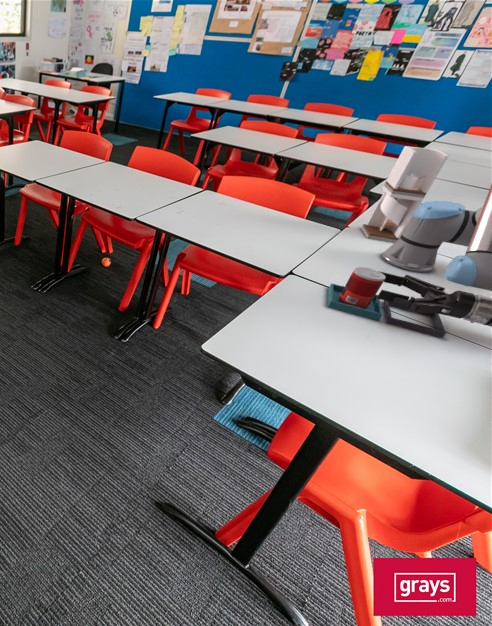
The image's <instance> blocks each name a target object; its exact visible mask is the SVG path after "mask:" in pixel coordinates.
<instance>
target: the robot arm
mask: <svg viewBox="0 0 492 626" xmlns="http://www.w3.org/2000/svg"><path fill="white" fill-rule="evenodd" d="M443 243H447V244H451V245H452V244H453V245H457V246H463V247H466V248H467V249H466V251H465V254H464V255H457V256H455V257H453V258H452V260H451V261H450V262H449V264H448V265H447V267H446V270H445V274H444V275H445V278H446V280H447V281H449V282H450V283H453V284H454V283H455V284H458V285H462V286H464V287H470V288H474V289H475V288H476V289H480V290H486V291H491V292H492V183H491V185H490V187H489V189H488V192H487V195H486V197H485V200H484V202H483V206H481V207H479V208H478V209H477V210H476V211H475V210H469V209H466V206H465V205H463V204H461V203H459V202H453V201H447V200H428V201H424V202H421V204H420V205H419V207H418V208H417V210H416V211H415V212H414V213H413V216H412V218H411V220H410V221H409V223H408V225H407V226H406V228H405V230H404V231H403V233H402V235H401V237H400V238H399V239H398V240H397V241H396V242H393V244H392V245H390V246H389V247H388V248H387V249H386V250H385V251H384V252H383V254H382V260H384V261H385V262H387V263H388V264H389V265H392V266H395V267H397V268H400V269H402V270H406V271H411V272H417V273H429V272H431V271H432V270H433V269H434V268H435V265H436V261H437V255H438V251H439V248H440V247H441V245H442V244H443ZM378 271H379V270H378ZM379 272H381V273H382V274H384V275H385V277H386V278H385V280H384V282H383V283H385V284H391V285H394V286H397V287H405V288H406V289H408V290H410V291H413V292H415V293H417V294H419V295H420V297H414V296H409V295H405V294H401V293H397V292H393V291H389V290H385V289H381V290H380V291H379V293H378V294H377V295H378V296H377V299H380V301H384V300H385V301H389V302H392V303H396V304H400V305H406V306H405V307H407V308H409V311H408V312H411V311H412V313H415V312H423V313H435V314H439V315H442V316H446V317H447V316H448V317H451V318H454V319H455V318H456V319H462V320H464V321H467V322H469V323H470V324H479V325H483V326H487V327H491V328H492V297H489V296H485V295H481V294H474V293H471V292H467V291H464V290H460V289H459V290H454V291H453V292H452V293H447V292H445V290H446V288H445V287H444V286H439V285H436V284H433V283H432V282H431V283H430V282H427V281H425V280H422V279H420V278H417V277H414V276H412V275H409V274H405V275H404V276H402V275H401V276H400V275H396V274H393V273H388V272H385V271H379Z"/></svg>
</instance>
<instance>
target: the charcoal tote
mask: <svg viewBox="0 0 492 626" xmlns="http://www.w3.org/2000/svg"><path fill="white" fill-rule="evenodd" d="M381 306H382V311H383V314H384V320H385V323H386V324H387V325H392V326H394V327H395V326H396V327H399V328H403V329H406V330H410V331H413V332H416V333H420V334H424V335H428V336H432V337H436V338H439V339H443V338H444V337H445V335H446V334H447V331H446V329H445V326H444V324H443V322H442V319H441V316H440V314H435V313H423V312H414V313H416V314H419V315H423V316H427V317H431V318H432V322H433V324H434V327H435V328H433V327H429V326H425V325H422V324H417V323H414V322H411V321H407V320H403V319H400V318H395V317H392V312H391V307H392V308H397V309H400V310H403V311H407V312H412V311H409V308H407V307H405V306H406V305H400V304H396V303H392V302H389V301H385V300H382V303H381ZM412 313H413V312H412Z"/></svg>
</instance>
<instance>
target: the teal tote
mask: <svg viewBox="0 0 492 626" xmlns="http://www.w3.org/2000/svg"><path fill="white" fill-rule="evenodd" d="M344 287H345V285H339V284H335V283H330V285H329V287H328V289H327V307H328V308H330V309H333V310H338V311H340V312H344V313H348V314H352V315H355V316H360V317H362V318H366V319H369V320H373V321H377V322H379V321H380V320H381V318H382V317H383V314H384V313H383V308H382V303H381V299H377V296H378V295H379V294H376V295H375V296H374V298H373V300H372V301H371V303H370V305H369V306H368V307H367V308H366V309H362V308H359V307H355V306H351V305H347V304H344V303H341V302H340V301H339V296H340V294H341V293H342V291H343V289H344Z"/></svg>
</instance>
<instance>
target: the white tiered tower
mask: <svg viewBox="0 0 492 626" xmlns="http://www.w3.org/2000/svg"><path fill="white" fill-rule="evenodd" d="M448 158H449V155H448V154H447V153H445V152H442V151H441V150H439V149H437V148H427V147H418V146H409V145H408V146H407V145H405V146H404V147H403V149H402V150H401V153H400V154H399V156H398V157H397V160H396V162H395V164H394V166H393V167H392V169H391V171H390V173H389V176H388V177H387V179H386V180H385V182H384V185H383V187H382V188H381V190H383V193H382V195H381V197H380V198H379V201H378V203H377V204H376V206H375V208H374V209H373V212H372V214H371V215H370V217H369V219H368V221H367V222H366V224H365V223H363V224H362V226H361V228H360V229H361V230H362V232H363V234H364V235H365V237H366V239H371V240H378V241H382V242H383V241H384V242H390V243H395V242H396V241H397V240H398V239H399V238H400V237H401V235H402V233H403V231H404V230H405V228H406V226H407V225H408V223H409V221H410V220H411V218H412V216H413V213H414V212H415V211H416V210H417V208H418V207H419V206H420V205H421V204H422V203H423V200H424V199H425V197H426V195H427V193H428V192H429V190H430V189H431V187H432V185H433V183H434V182H435V180H436V179H437V177H438V175H439V173H440V172H441V170H442V168H443V167H444V165H445V163H446V161H447V160H448Z"/></svg>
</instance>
